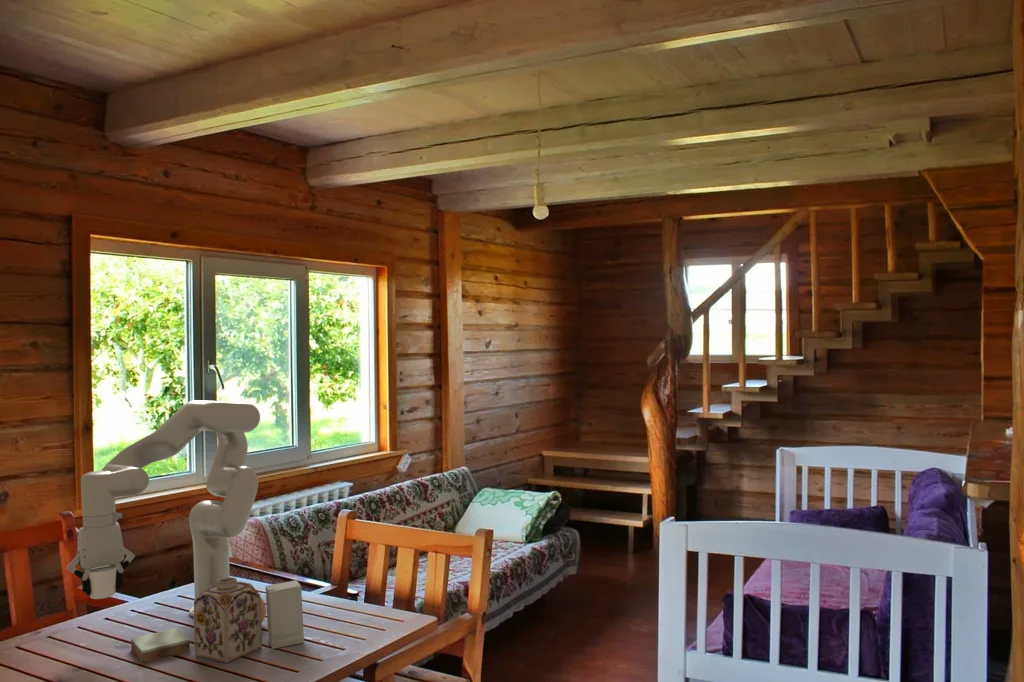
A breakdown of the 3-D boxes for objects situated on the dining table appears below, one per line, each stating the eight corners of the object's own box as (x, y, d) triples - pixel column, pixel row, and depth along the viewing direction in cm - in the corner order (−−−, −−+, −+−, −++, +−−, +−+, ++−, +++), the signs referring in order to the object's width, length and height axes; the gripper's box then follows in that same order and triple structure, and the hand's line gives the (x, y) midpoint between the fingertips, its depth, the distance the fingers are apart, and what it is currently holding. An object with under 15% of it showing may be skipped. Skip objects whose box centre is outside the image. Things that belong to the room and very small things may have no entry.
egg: (262, 621, 225) (261, 588, 225) (269, 628, 219) (268, 594, 219) (237, 626, 221) (236, 593, 221) (244, 633, 215) (243, 599, 215)
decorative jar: (226, 664, 195) (224, 589, 195) (193, 656, 200) (191, 583, 200) (264, 647, 205) (262, 575, 205) (231, 640, 211) (229, 570, 211)
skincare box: (299, 636, 212) (298, 579, 212) (304, 643, 207) (303, 585, 207) (266, 642, 209) (265, 584, 208) (270, 650, 203) (268, 590, 203)
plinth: (177, 639, 212) (176, 627, 212) (189, 651, 203) (189, 639, 203) (131, 650, 205) (131, 638, 205) (142, 663, 197) (142, 650, 197)
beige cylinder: (105, 600, 202) (104, 572, 202) (81, 599, 204) (80, 571, 204) (123, 591, 209) (122, 564, 209) (100, 590, 211) (99, 563, 211)
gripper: (132, 512, 214) (135, 580, 215) (58, 524, 204) (61, 595, 204) (139, 517, 209) (143, 587, 209) (63, 529, 198) (67, 603, 198)
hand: (102, 590), depth 207 cm, fingers closed on beige cylinder, 6 cm apart
